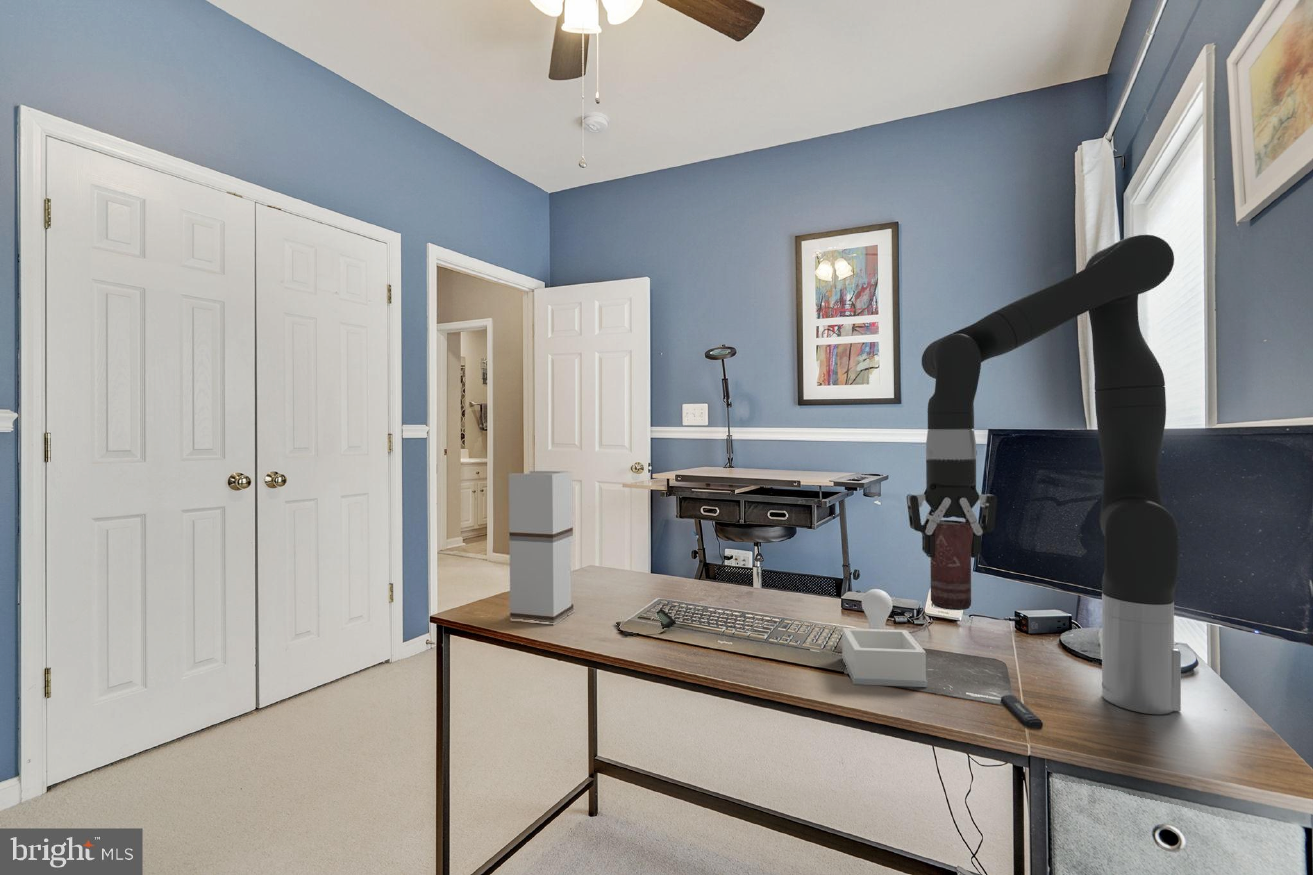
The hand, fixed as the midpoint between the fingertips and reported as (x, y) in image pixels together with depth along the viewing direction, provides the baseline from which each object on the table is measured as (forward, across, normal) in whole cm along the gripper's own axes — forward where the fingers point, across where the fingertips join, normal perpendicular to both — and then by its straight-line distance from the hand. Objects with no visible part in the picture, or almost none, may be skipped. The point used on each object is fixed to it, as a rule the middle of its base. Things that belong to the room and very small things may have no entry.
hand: (951, 556), depth 103 cm
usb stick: (+24, -9, +5) cm, 26 cm away
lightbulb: (+24, +6, -27) cm, 36 cm away
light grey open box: (+24, +9, -10) cm, 27 cm away
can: (+8, 0, 0) cm, 8 cm away
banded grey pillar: (+23, +82, -37) cm, 93 cm away
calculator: (+24, +56, -31) cm, 68 cm away
